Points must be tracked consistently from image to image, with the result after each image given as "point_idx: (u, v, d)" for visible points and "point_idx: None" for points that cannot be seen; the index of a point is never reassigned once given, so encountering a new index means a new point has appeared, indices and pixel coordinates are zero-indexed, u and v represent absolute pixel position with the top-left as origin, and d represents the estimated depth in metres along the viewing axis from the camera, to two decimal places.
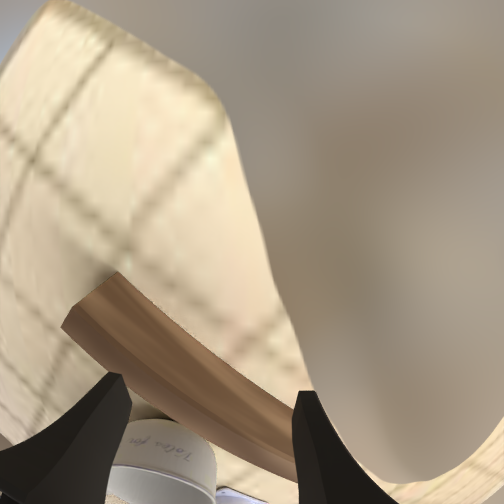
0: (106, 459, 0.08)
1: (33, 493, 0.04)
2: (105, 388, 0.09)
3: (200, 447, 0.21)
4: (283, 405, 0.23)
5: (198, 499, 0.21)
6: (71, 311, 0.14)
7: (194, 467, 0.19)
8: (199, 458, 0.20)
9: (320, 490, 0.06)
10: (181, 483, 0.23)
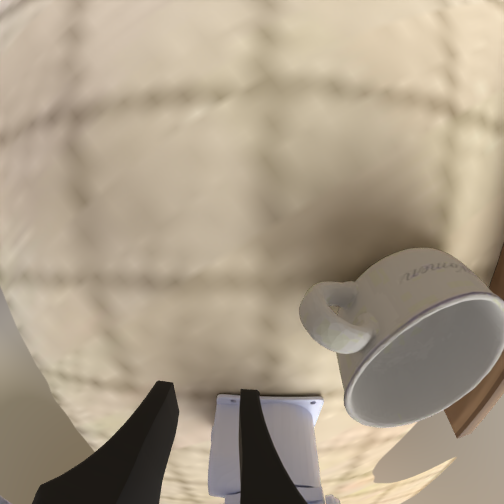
0: (159, 472, 0.08)
1: None
2: (159, 399, 0.09)
3: None
4: None
5: (390, 401, 0.17)
6: None
7: None
8: None
9: (240, 492, 0.06)
10: None
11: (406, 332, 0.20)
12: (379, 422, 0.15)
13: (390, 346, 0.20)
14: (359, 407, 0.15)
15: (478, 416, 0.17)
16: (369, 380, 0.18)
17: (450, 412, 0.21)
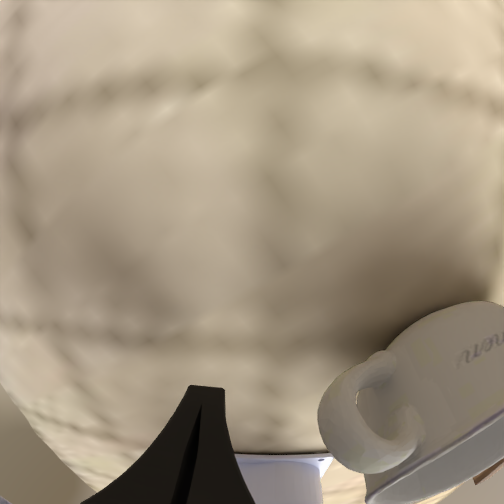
0: None
1: None
2: (195, 404, 0.09)
3: None
4: None
5: (414, 473, 0.11)
6: None
7: None
8: None
9: None
10: None
11: None
12: (401, 501, 0.10)
13: None
14: (380, 492, 0.10)
15: (501, 465, 0.12)
16: None
17: None
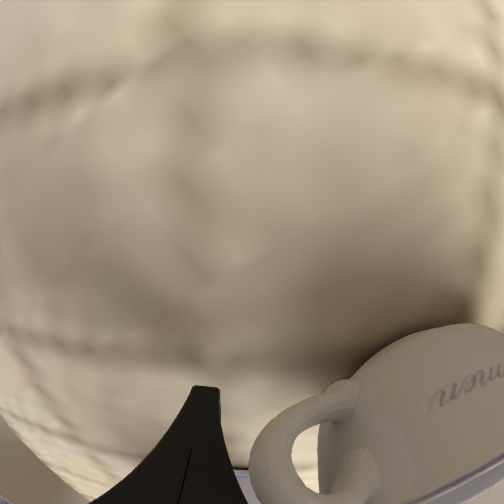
0: None
1: None
2: (200, 405, 0.09)
3: None
4: None
5: None
6: None
7: None
8: None
9: None
10: None
11: None
12: None
13: None
14: None
15: None
16: None
17: None
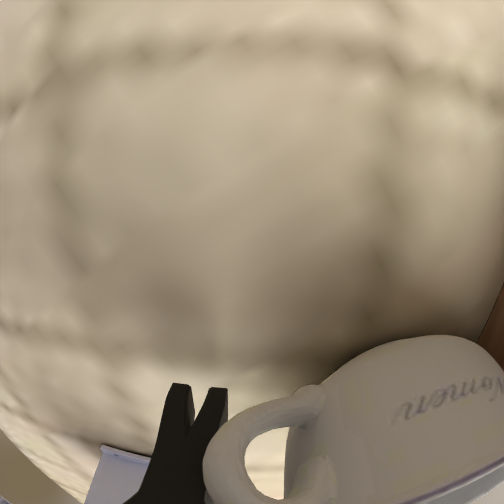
0: None
1: None
2: (218, 406, 0.09)
3: None
4: None
5: None
6: None
7: None
8: None
9: None
10: None
11: None
12: None
13: None
14: None
15: None
16: None
17: None
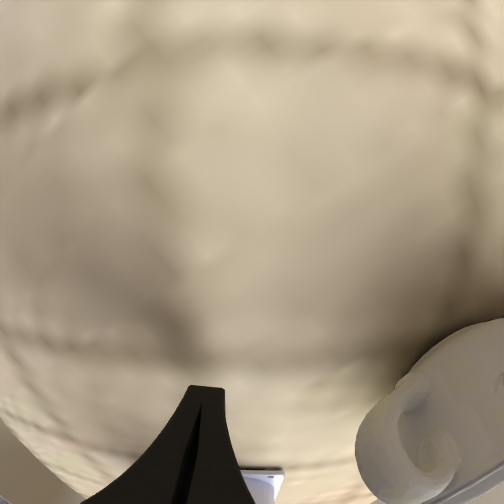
0: None
1: None
2: (195, 404, 0.09)
3: None
4: None
5: None
6: None
7: None
8: None
9: None
10: None
11: None
12: None
13: None
14: None
15: None
16: None
17: None
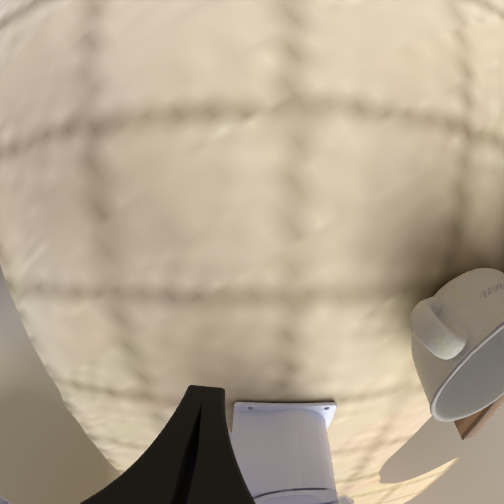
0: None
1: None
2: (195, 404, 0.09)
3: None
4: None
5: (450, 398, 0.17)
6: None
7: None
8: None
9: None
10: None
11: None
12: (446, 416, 0.15)
13: None
14: (435, 404, 0.15)
15: (482, 419, 0.17)
16: None
17: None
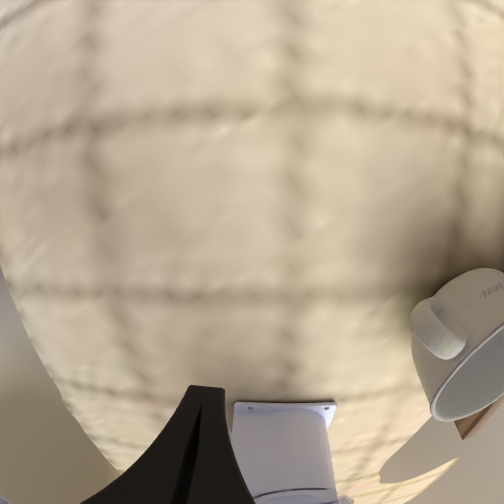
0: None
1: None
2: (195, 404, 0.09)
3: None
4: None
5: (450, 398, 0.17)
6: None
7: None
8: None
9: None
10: None
11: None
12: (446, 416, 0.15)
13: None
14: (435, 404, 0.15)
15: (482, 419, 0.17)
16: None
17: None
